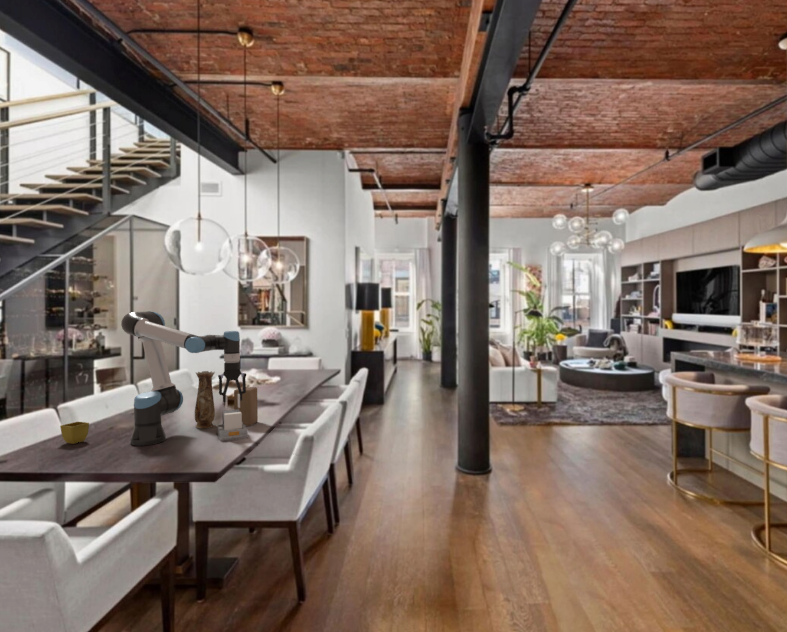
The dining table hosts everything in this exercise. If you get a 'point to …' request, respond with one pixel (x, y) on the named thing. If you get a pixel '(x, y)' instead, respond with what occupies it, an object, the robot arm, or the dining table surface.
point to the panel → (232, 421)
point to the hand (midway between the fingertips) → (232, 407)
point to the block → (247, 405)
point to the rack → (231, 434)
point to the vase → (204, 400)
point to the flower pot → (74, 432)
